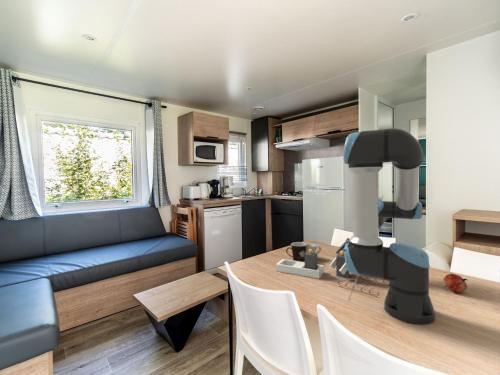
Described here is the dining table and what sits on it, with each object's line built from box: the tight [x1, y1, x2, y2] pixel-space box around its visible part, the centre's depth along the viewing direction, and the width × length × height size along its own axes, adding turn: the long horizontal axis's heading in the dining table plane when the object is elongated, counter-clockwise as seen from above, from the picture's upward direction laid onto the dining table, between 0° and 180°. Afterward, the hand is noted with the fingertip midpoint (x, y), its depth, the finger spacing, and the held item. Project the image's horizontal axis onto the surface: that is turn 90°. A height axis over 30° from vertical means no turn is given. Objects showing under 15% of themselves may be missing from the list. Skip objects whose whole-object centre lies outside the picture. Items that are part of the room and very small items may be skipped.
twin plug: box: [304, 249, 319, 270], centre depth 124 cm, size 5×5×12 cm
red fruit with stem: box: [443, 273, 468, 294], centre depth 104 cm, size 7×7×10 cm
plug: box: [335, 251, 350, 279], centre depth 122 cm, size 5×5×12 cm
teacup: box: [306, 243, 322, 255], centre depth 148 cm, size 14×11×8 cm
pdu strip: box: [275, 258, 325, 280], centre depth 128 cm, size 9×22×4 cm, turn 60°
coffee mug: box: [285, 241, 308, 262], centre depth 144 cm, size 12×9×10 cm
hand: (336, 269), depth 121 cm, fingers closed on plug, 7 cm apart
